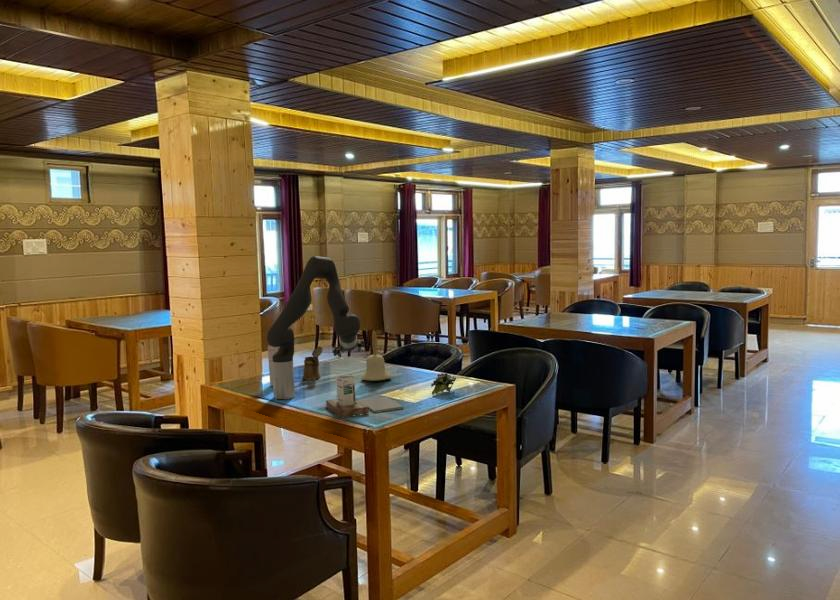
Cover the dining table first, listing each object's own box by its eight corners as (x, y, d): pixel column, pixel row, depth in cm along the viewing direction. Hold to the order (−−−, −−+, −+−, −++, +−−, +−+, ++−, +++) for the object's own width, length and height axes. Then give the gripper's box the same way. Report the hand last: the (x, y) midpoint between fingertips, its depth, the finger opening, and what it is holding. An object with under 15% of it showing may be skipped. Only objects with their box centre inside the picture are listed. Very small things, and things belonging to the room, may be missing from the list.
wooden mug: (314, 382, 323) (312, 347, 321) (299, 379, 333) (297, 345, 331) (328, 379, 329) (326, 345, 327) (313, 376, 339) (312, 342, 337)
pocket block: (340, 418, 256) (340, 410, 256) (326, 407, 274) (326, 400, 274) (368, 413, 261) (368, 406, 261) (353, 403, 279) (352, 396, 279)
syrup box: (343, 413, 264) (342, 378, 262) (337, 410, 269) (336, 376, 267) (356, 410, 267) (354, 376, 265) (350, 407, 272) (348, 374, 270)
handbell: (372, 384, 313) (370, 334, 311) (355, 380, 325) (352, 331, 322) (397, 379, 323) (395, 330, 321) (379, 375, 335) (377, 328, 332)
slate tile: (374, 413, 262) (374, 410, 262) (358, 402, 280) (358, 400, 280) (403, 408, 267) (403, 406, 267) (385, 398, 286) (385, 396, 285)
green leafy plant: (442, 403, 295) (451, 379, 299) (455, 403, 286) (464, 379, 290) (423, 392, 291) (433, 368, 295) (436, 392, 281) (445, 368, 286)
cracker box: (278, 380, 330) (276, 341, 328) (289, 380, 329) (287, 340, 327) (269, 387, 316) (266, 345, 314) (281, 387, 316) (278, 345, 314)
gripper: (361, 326, 273) (361, 340, 288) (329, 336, 270) (331, 349, 285) (366, 342, 270) (366, 355, 285) (334, 352, 267) (336, 364, 282)
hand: (349, 352), depth 285 cm, fingers open, 8 cm apart
